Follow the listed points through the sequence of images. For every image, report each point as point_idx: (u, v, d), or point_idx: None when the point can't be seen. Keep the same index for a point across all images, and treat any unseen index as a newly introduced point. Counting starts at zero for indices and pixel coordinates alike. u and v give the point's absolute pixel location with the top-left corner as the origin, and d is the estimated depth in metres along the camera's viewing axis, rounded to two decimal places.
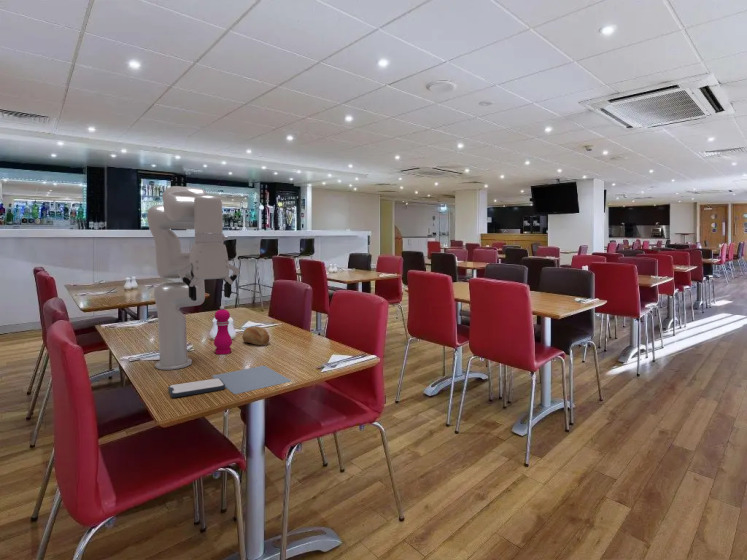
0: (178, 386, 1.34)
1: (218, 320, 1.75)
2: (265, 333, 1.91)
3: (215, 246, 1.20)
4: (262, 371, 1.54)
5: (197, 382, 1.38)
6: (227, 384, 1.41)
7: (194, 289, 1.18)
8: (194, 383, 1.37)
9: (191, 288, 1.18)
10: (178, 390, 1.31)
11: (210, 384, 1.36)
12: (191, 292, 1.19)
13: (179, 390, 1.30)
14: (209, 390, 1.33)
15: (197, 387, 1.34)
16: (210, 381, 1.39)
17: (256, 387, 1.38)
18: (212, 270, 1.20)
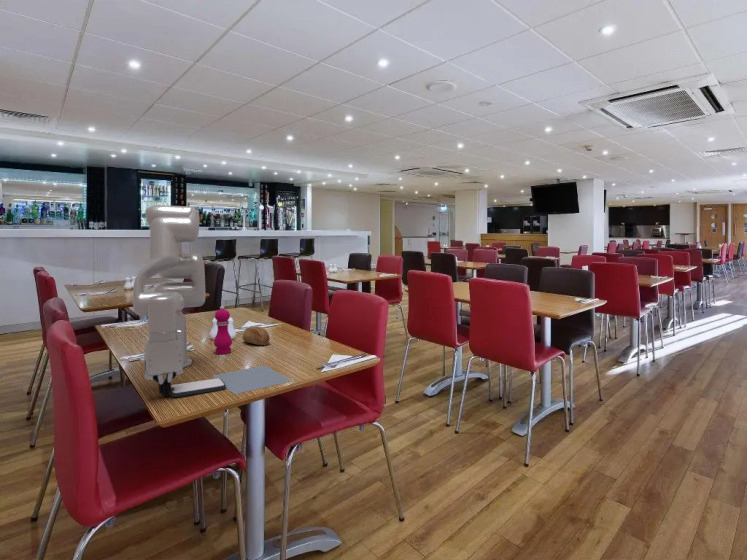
0: (179, 386, 1.34)
1: (218, 320, 1.75)
2: (265, 333, 1.91)
3: (168, 343, 1.26)
4: (262, 371, 1.54)
5: (198, 382, 1.38)
6: (227, 384, 1.41)
7: (163, 386, 1.28)
8: (195, 383, 1.37)
9: (161, 385, 1.28)
10: (179, 390, 1.31)
11: (211, 384, 1.37)
12: (161, 389, 1.28)
13: (180, 390, 1.30)
14: (210, 390, 1.33)
15: (198, 387, 1.34)
16: (211, 381, 1.39)
17: (256, 387, 1.38)
18: (166, 366, 1.27)
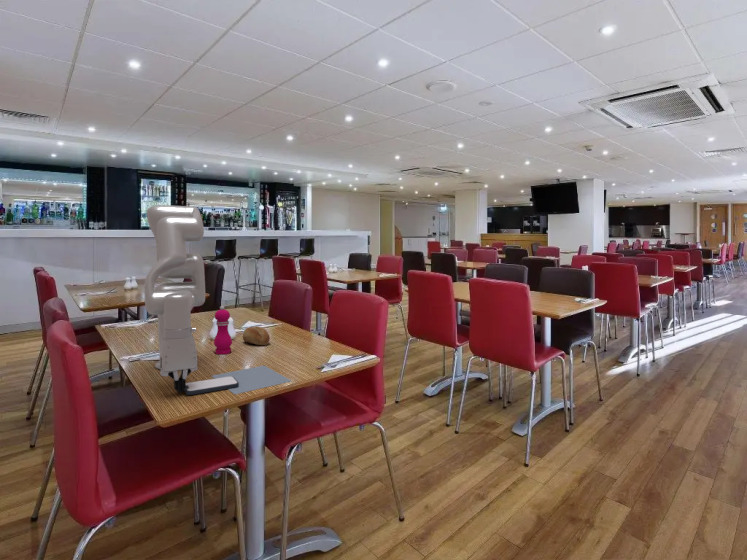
0: (193, 384, 1.36)
1: (218, 320, 1.75)
2: (265, 333, 1.91)
3: (183, 340, 1.29)
4: (262, 371, 1.54)
5: (211, 380, 1.40)
6: None
7: (179, 382, 1.30)
8: (208, 381, 1.39)
9: (176, 381, 1.30)
10: (193, 388, 1.33)
11: (224, 382, 1.38)
12: (176, 385, 1.30)
13: (194, 388, 1.32)
14: (223, 388, 1.35)
15: (211, 385, 1.36)
16: (224, 379, 1.41)
17: (256, 387, 1.38)
18: (181, 363, 1.29)
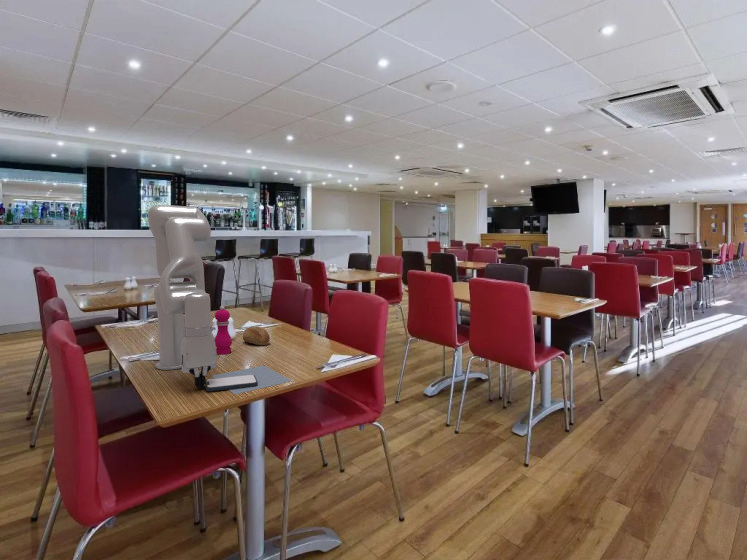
0: (214, 381, 1.39)
1: (218, 320, 1.75)
2: (265, 333, 1.91)
3: (204, 338, 1.33)
4: (262, 371, 1.54)
5: (232, 377, 1.43)
6: None
7: (199, 379, 1.34)
8: (229, 378, 1.42)
9: (196, 378, 1.34)
10: (213, 384, 1.36)
11: (244, 380, 1.40)
12: (196, 381, 1.34)
13: (214, 385, 1.35)
14: (242, 386, 1.37)
15: (231, 382, 1.38)
16: (245, 377, 1.43)
17: (256, 387, 1.38)
18: (201, 360, 1.33)
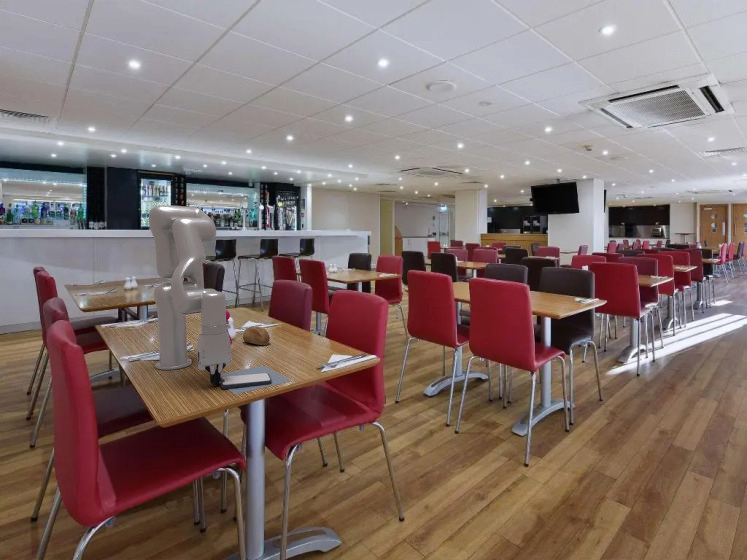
0: (229, 378, 1.41)
1: None
2: (265, 333, 1.91)
3: (219, 336, 1.36)
4: (262, 371, 1.54)
5: (247, 375, 1.45)
6: None
7: (215, 376, 1.37)
8: (244, 376, 1.44)
9: (212, 375, 1.38)
10: (228, 382, 1.38)
11: (258, 378, 1.43)
12: (212, 378, 1.38)
13: (229, 382, 1.38)
14: (256, 384, 1.39)
15: (245, 380, 1.40)
16: (259, 375, 1.45)
17: (256, 387, 1.38)
18: (217, 357, 1.36)
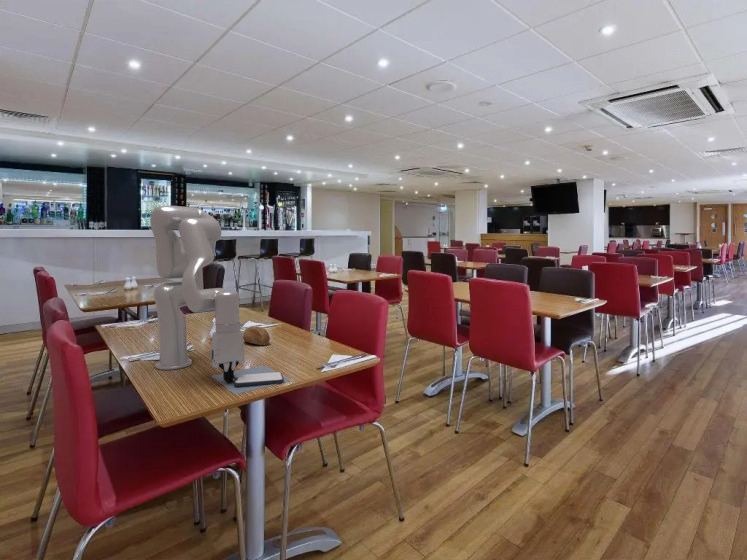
0: (242, 377, 1.43)
1: None
2: (265, 333, 1.91)
3: (233, 334, 1.39)
4: (262, 371, 1.54)
5: (260, 374, 1.46)
6: (227, 384, 1.41)
7: (228, 373, 1.40)
8: (257, 375, 1.46)
9: (226, 372, 1.40)
10: (241, 380, 1.40)
11: (270, 377, 1.44)
12: (226, 376, 1.40)
13: (242, 380, 1.39)
14: (268, 383, 1.41)
15: (258, 379, 1.42)
16: (271, 374, 1.47)
17: (256, 387, 1.38)
18: (230, 355, 1.39)
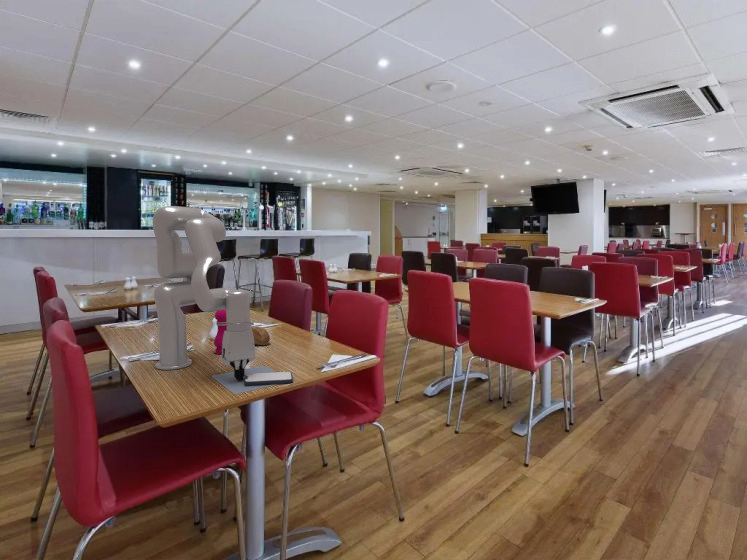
0: (253, 376, 1.45)
1: (218, 320, 1.75)
2: (265, 333, 1.91)
3: (244, 333, 1.41)
4: (262, 371, 1.54)
5: (270, 373, 1.47)
6: (227, 384, 1.41)
7: (239, 371, 1.42)
8: (267, 374, 1.47)
9: (236, 370, 1.43)
10: (251, 379, 1.41)
11: (280, 377, 1.44)
12: (236, 374, 1.43)
13: (251, 379, 1.41)
14: (277, 382, 1.41)
15: (268, 378, 1.43)
16: (282, 374, 1.47)
17: (256, 387, 1.38)
18: (241, 353, 1.42)
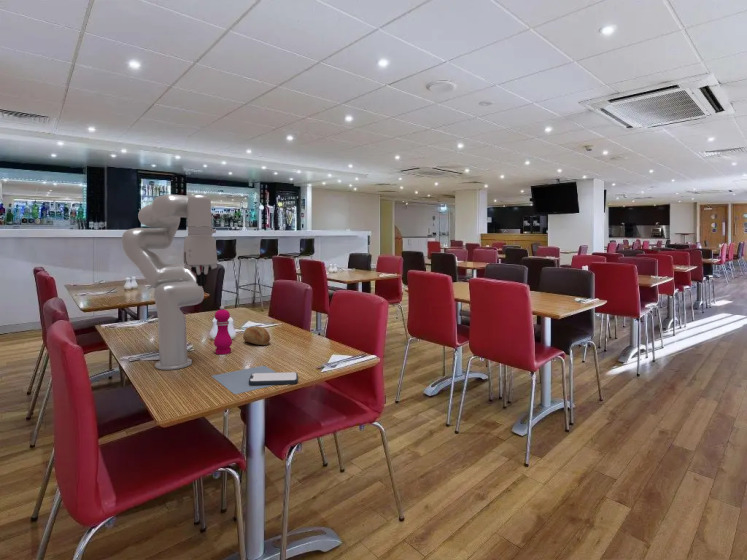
0: (258, 375, 1.45)
1: (218, 320, 1.75)
2: (266, 333, 1.91)
3: (205, 237, 1.42)
4: (262, 371, 1.54)
5: (276, 373, 1.47)
6: (227, 384, 1.41)
7: (201, 277, 1.43)
8: (273, 374, 1.47)
9: (198, 276, 1.44)
10: (255, 379, 1.42)
11: (285, 377, 1.44)
12: (198, 279, 1.44)
13: (256, 379, 1.41)
14: (282, 382, 1.41)
15: (272, 378, 1.43)
16: (287, 374, 1.47)
17: (256, 387, 1.38)
18: (203, 258, 1.42)
